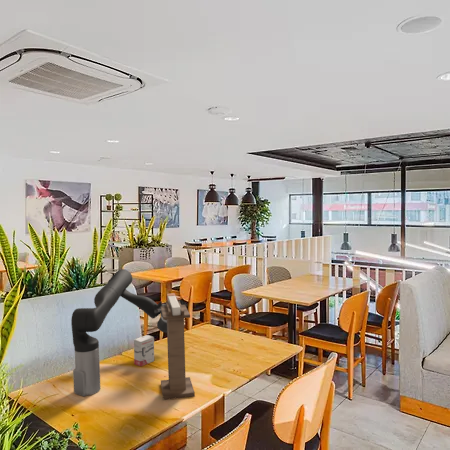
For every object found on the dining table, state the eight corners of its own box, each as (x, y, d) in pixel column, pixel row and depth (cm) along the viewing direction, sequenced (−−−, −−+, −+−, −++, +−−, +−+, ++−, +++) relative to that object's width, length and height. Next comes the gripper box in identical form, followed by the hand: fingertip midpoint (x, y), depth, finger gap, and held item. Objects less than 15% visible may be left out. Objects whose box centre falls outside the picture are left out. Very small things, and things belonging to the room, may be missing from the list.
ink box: (141, 367, 180) (140, 341, 179) (133, 364, 183) (133, 339, 182) (155, 360, 186) (154, 336, 186) (148, 358, 190) (147, 334, 189)
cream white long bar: (167, 301, 171) (167, 293, 171) (174, 300, 172) (174, 293, 171) (172, 315, 148) (172, 307, 147) (180, 314, 148) (180, 306, 148)
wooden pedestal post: (160, 383, 163) (158, 303, 161) (189, 379, 165) (187, 300, 164) (163, 401, 147) (160, 313, 145) (195, 397, 150) (192, 310, 148)
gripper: (153, 306, 186) (154, 295, 172) (183, 304, 190) (186, 293, 176) (153, 322, 183) (154, 312, 169) (184, 319, 186) (187, 309, 172)
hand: (170, 302), depth 172 cm, fingers open, 8 cm apart
